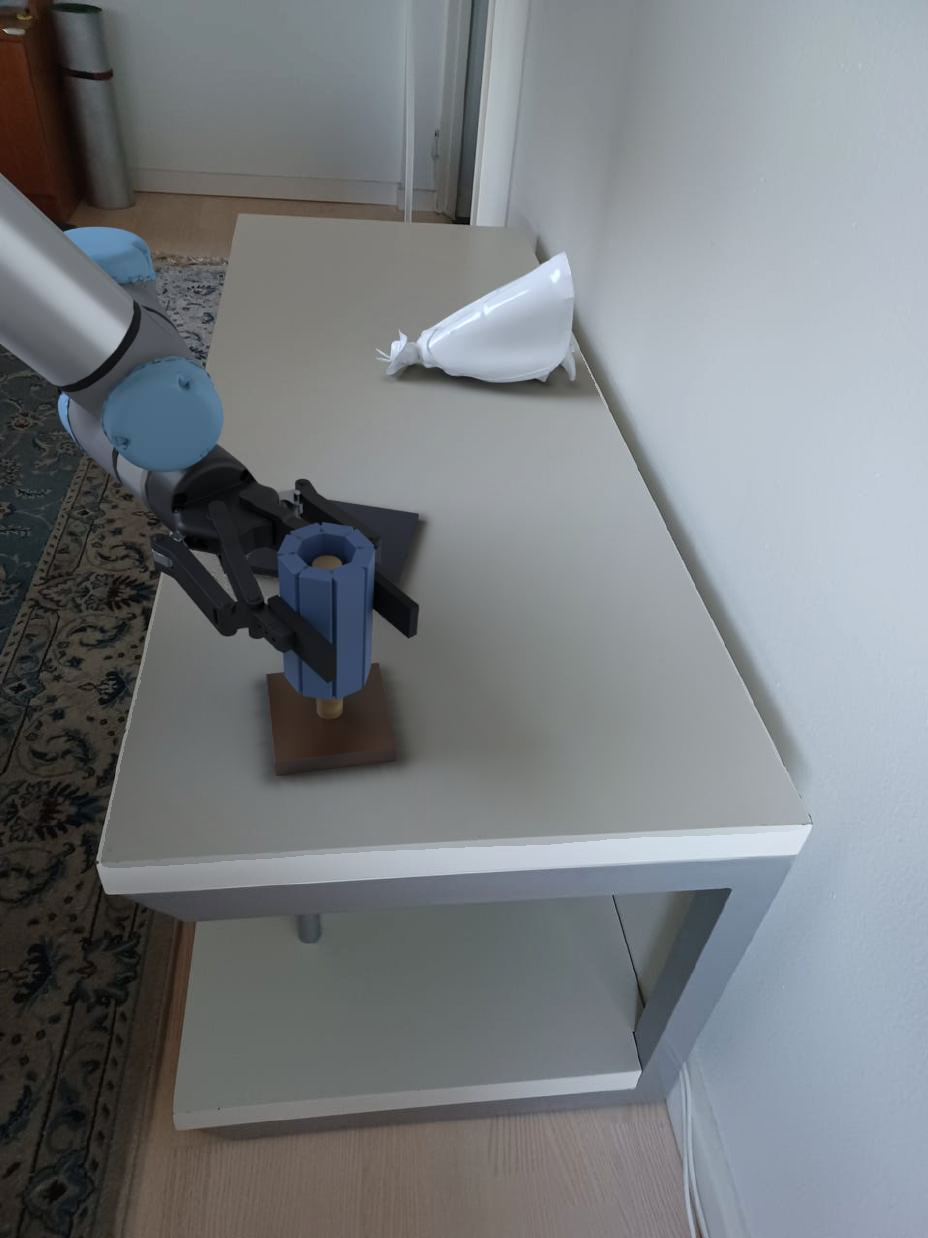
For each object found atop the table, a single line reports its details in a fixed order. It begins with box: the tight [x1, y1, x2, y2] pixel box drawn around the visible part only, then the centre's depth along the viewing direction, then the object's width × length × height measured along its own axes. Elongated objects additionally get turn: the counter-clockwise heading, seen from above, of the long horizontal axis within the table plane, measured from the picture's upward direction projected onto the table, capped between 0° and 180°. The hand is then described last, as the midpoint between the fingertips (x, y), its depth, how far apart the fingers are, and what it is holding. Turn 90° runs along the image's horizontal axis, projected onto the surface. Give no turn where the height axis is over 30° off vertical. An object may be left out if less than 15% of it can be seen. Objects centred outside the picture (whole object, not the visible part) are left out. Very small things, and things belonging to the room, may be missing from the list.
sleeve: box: [277, 522, 375, 700], centre depth 62 cm, size 6×6×11 cm
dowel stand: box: [265, 555, 399, 776], centre depth 65 cm, size 9×9×16 cm
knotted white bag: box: [375, 251, 577, 383], centre depth 111 cm, size 14×16×25 cm
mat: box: [247, 498, 420, 588], centre depth 86 cm, size 14×12×1 cm
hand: (373, 643), depth 59 cm, fingers closed on sleeve, 6 cm apart
